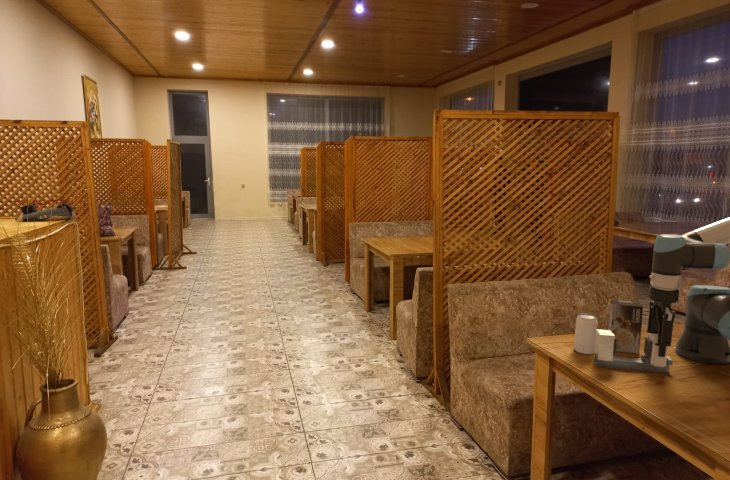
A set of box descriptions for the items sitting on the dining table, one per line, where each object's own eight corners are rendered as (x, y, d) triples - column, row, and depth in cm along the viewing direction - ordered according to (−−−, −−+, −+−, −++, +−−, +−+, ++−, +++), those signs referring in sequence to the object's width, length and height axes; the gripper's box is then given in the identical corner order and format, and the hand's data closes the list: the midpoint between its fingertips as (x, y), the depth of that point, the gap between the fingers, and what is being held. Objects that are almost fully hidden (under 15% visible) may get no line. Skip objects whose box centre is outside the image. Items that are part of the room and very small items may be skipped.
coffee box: (636, 347, 170) (641, 301, 167) (639, 354, 164) (644, 306, 161) (606, 343, 173) (610, 298, 171) (608, 350, 167) (612, 303, 165)
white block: (659, 359, 154) (662, 334, 153) (665, 365, 149) (668, 340, 148) (642, 357, 155) (645, 332, 153) (648, 364, 150) (650, 338, 149)
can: (597, 355, 163) (600, 319, 161) (576, 353, 164) (578, 318, 162) (592, 348, 169) (595, 313, 167) (572, 346, 170) (574, 312, 168)
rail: (666, 367, 154) (669, 334, 152) (672, 374, 149) (676, 340, 147) (593, 361, 158) (596, 329, 156) (597, 367, 153) (600, 334, 152)
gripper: (640, 279, 157) (632, 349, 161) (661, 294, 140) (652, 373, 144) (667, 280, 156) (658, 352, 160) (691, 296, 138) (681, 375, 142)
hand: (655, 361), depth 152 cm, fingers closed on white block, 5 cm apart
